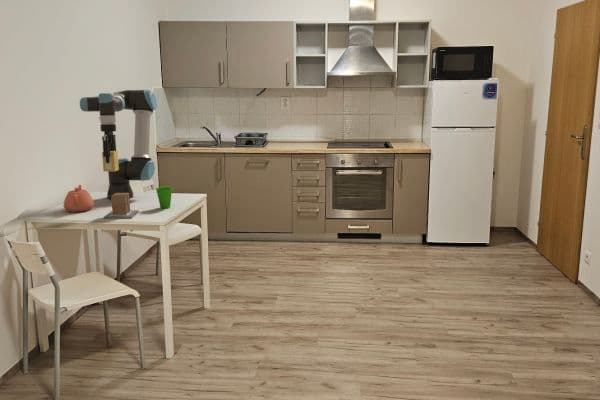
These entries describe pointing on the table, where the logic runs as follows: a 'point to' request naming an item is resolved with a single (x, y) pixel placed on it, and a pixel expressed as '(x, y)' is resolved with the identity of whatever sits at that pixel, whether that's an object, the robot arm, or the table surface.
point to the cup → (164, 196)
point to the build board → (129, 215)
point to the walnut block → (120, 203)
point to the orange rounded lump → (78, 200)
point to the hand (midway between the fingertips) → (111, 168)
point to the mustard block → (113, 161)
